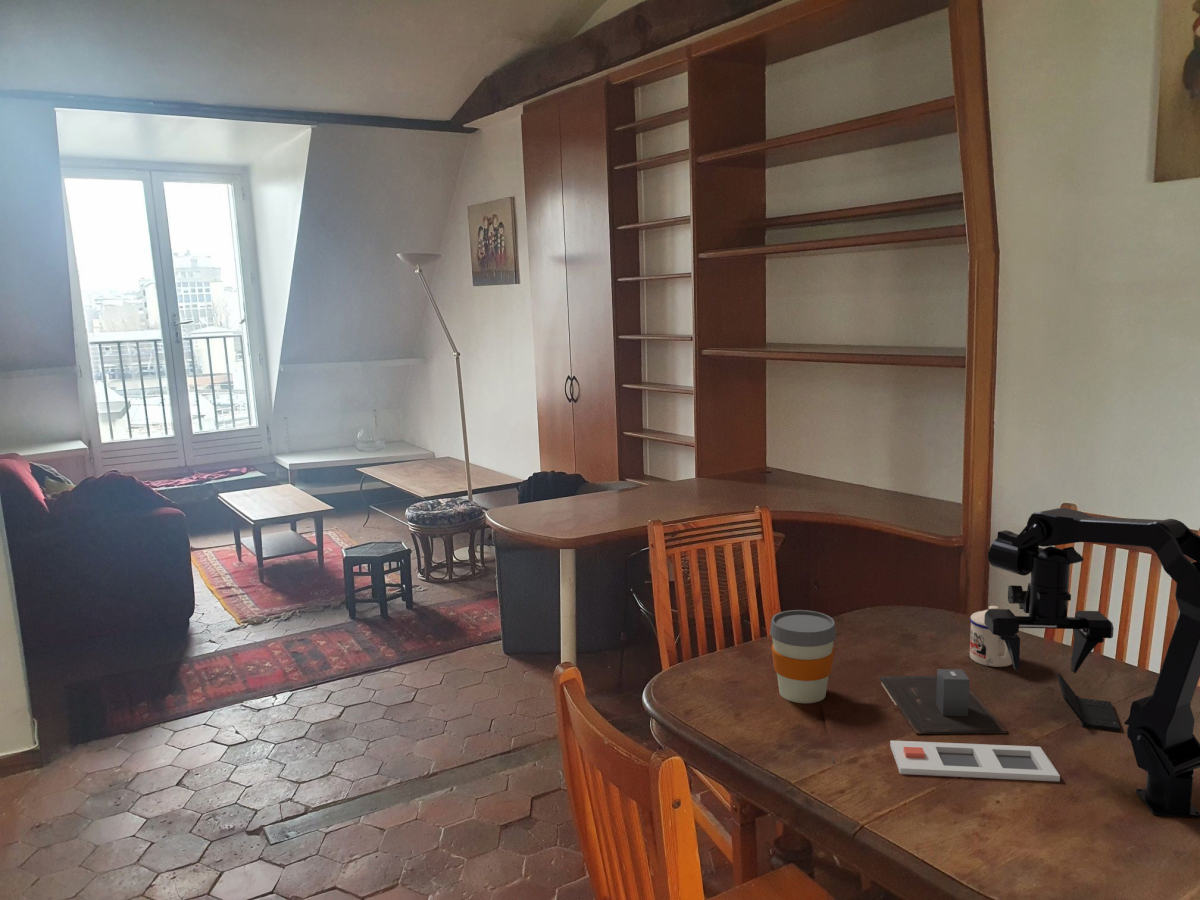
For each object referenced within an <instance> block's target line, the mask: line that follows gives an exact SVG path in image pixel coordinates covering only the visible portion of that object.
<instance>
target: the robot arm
mask: <svg viewBox="0 0 1200 900" xmlns="http://www.w3.org/2000/svg"><path fill="white" fill-rule="evenodd" d="M1074 543H1092V544H1093V543H1095V544H1104V545H1105V544H1106V545H1120V546H1121V545H1122V546H1134V547H1146V548H1150V549H1152V551H1153V552H1154V553H1155V554H1156V555H1157V558H1158V559H1159V562H1160V564H1161V567H1162V568H1163V570H1164V571H1165V573H1166V574H1167V575H1168V576H1169V577H1170V578H1171V579H1172V580H1173V581H1174V582H1175V583H1176V585H1175V595H1174V597H1175V600H1176V605H1177V607H1178V610H1179V611H1178V612H1179V614H1178V617H1177V620H1176V622H1175V623H1176V624H1175V626H1174V629H1173V633H1172V635H1171V639H1170V641H1169V644H1168V647H1167V651H1166V652H1165V653H1166V654H1165V657H1164V659H1163V662H1162V665H1161V668H1160V671H1159V674H1158V677H1157V681H1156V683H1155V686H1154V689H1153V692H1152V693H1151V695H1147V696H1145V697H1142V698H1138V699H1136V700H1133V701H1132V702H1131V705H1130V709H1129V715H1128V718H1127V719H1126V720H1125V721H1124V722H1123V723H1124V725H1126V726H1127V725H1128V726H1127V730H1126V736H1127V739H1129V741H1130V743H1131V747H1132V751H1133V754H1134V758H1135V762H1136V766H1137V767H1138V768H1139V769H1142V770H1143V771H1145V772H1146V784H1145V785H1146V786H1145V788H1135V793H1136V795H1137V796H1138V797H1139V799H1140V800H1141V801H1142V802H1143V803H1144V805H1145V806H1146V807H1147V808H1148V809H1149V811H1150V812H1151V813H1152V814H1153V815H1154V816H1161V817H1181V818H1198V819H1199V818H1200V810H1199V809H1198V808H1197V807H1196V806H1195V805H1194V804H1193V802H1192V798H1193V797H1192V795H1193V786H1194V785H1193V784H1194V775H1195V773H1194V770H1196V769H1199V768H1200V741H1199V740H1198V739H1197V737H1196V736H1195V735H1194V728H1195V727H1194V726H1195V718H1194V714H1193V710H1192V708H1191V702H1192V701H1193V698H1194V694H1195V692H1196V690H1197V689H1196V688H1197V686H1198V683H1199V680H1200V535H1198V534H1197V533H1194V531H1192V530H1191V529H1190V528H1189V527H1188V526H1187V525H1186V524H1185V523H1183V521H1180V520H1179V519H1174V518H1167V519H1166V518H1165V519H1150V518H1149V519H1147V518H1128V517H1107V516H1104V517H1103V516H1093V515H1089V514H1086V512H1083V511H1080V510H1076V509H1071V508H1066V507H1057V508H1053V509H1047V510H1044V511H1043V510H1042V511H1037V512H1033V513H1031V514H1030V516H1029V517H1028V520H1027V523H1026V526H1025V527H1024V528H1023V529H1022V530H1021V531H1020V533H1018V534H1017V533H1014V532H1013V531H1011V530H1001V531H998V532H997V537H996V538H995V539H994V540H993V542H992V543H991V545H990V547H989V549H988V551H987V560H988V562H989V564H990V565H991V566H992V567H994V568H997V569H1000V570H1003V571H1006V572H1010V573H1013V574H1016V575H1019V576H1022V577H1023V576H1028V575H1029V574H1030V582H1028V584H1027V589H1026V590H1023V586H1022V585H1008V590H1007V601H1008V603H1009V604H1011V605H1013V604H1014V605H1015V604H1017V605H1018V608H1019V609H1020V610H1023V612H1024V614H1028V616H1027V615H1025V616H1023V615H1015V614H1014V613H1013V612H1012V610H1011V609H1009V608H1007V609H1006V608H1005V609H1004V608H999V609H989V608H988V609H989V610H988V609H987V610H988V611H987V612H986V613H985V620H984V623H985V625H986V626H987V627H988V629H989V630H990V631H991V632H992V634H994V635H997V636H999V638H1000V639H1001V640H1004V641H1005V643H1006V646H1007V649H1008V652H1009V655H1010V658H1011V661H1012V664H1011V665H1012V667H1013V670H1014V671H1015V672H1019V668H1020V662H1021V660H1020V654H1021V653H1020V651H1021V638H1020V636H1019V635H1018V633H1019V632H1020V629H1052V630H1053V629H1055V630H1056V629H1057V630H1059V629H1062V630H1063V629H1064V630H1072V632H1073V646H1072V653H1071V660H1070V661H1071V662H1070V664H1071V665H1070V669H1071V672H1072V673H1074V674H1076V673H1077V672H1078V670H1079V669H1080V667H1081V666H1082V664H1083V663H1084V661H1085V660H1086V658H1087V657H1088V655H1089V654H1090V653H1091V652H1092V651H1093V649H1095V647H1096V646H1097V645H1098V644H1100V643H1102V644H1103V643H1104V642H1105V639H1112V638H1114V625H1113V622H1112V621H1111V620H1110V619H1109V618H1107V616H1105V615H1104V614H1102V613H1101V612H1100V611H1099V610H1095V611H1094V610H1077V611H1076V612H1075V614H1074V617H1070V616H1068V605H1069V601H1072V594H1071V593H1070V592H1069V591H1070V590H1069V587H1070V574H1071V572H1070V571H1071V570H1070V569H1071V565H1073V564H1078V563H1082V562H1084V557H1083V556H1082V555H1081V554H1080V553H1079V552H1078V551H1076V549H1075V547H1074V546H1069V547H1064V548H1059V547H1055V546H1061V545H1069V544H1074ZM1044 547H1045V548H1044ZM1189 558H1190V559H1192V560H1193V562H1192V561H1191V560H1190V559H1189Z"/></svg>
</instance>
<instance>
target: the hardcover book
mask: <svg viewBox="0 0 1200 900" xmlns="http://www.w3.org/2000/svg"><path fill="white" fill-rule="evenodd" d="M878 678H879V680H880V682H881V686H882V687H883V689H884V690H885V692H886V693H887V694H888V695H887V696H888V697H889V698H890V700H891V701H892V702H894V703H893V704H894V705H895V706H897V707H898V709H899V710H900V712H901V714H902V715H903V716H904V718H905V720H906V721H907V722H908V724H909V725H910V727H911V728H912V730H913V731H914V733H915V734H916V735H943V734H944V735H947V734H948V735H949V734H952V735H953V734H957V735H958V734H959V735H960V734H1009V731H1008V730H1007V729H1006V728H1005V727H1004V726H1003V724H1002V723H1001V722H1000V721H999V720H998V719H997V717H996V716H995V715H994V714H993V713H992V712H991V711H990V710H989V709H988V707H987V706H986V705H985V704H984V703H983V702H982V701H981V700H980V698H979V697H978V696H977V695H976V693H974V691H973V690H972V689H971V688H970V687H969V707H968V716H943V715H942V713H941V712H940V710H939V708H938V707H937V705H936V694H937V674H936V675H933V674H931V675H930V674H929V675H891V676H890V675H889V676H887V675H886V676H883V675H882V676H878Z"/></svg>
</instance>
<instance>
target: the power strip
mask: <svg viewBox="0 0 1200 900" xmlns="http://www.w3.org/2000/svg"><path fill="white" fill-rule="evenodd" d="M889 746H890V749H891V752H892V754H893V757H894V761H895V763H896V766H897V769H898V772H899V774H900V775H911V776H912V775H915V776H916V775H917V776H936V777H956V778H959V777H961V778H975V779H976V778H977V779H979V778H981V779H998V780H1016V781H1017V780H1018V781H1019V780H1021V781H1040V782H1058V783H1059V782H1060V781H1061V775H1060V773H1059V772H1058V770H1057V769H1056V767H1055V766H1054V765H1053V763H1052V761H1051V760H1050V758H1049V757H1048V756H1047V755H1046V753H1045V751H1044V750H1043V749H1042V748H1041V746H1030V745H1011V744H1009V745H1006V744H983V743H981V744H980V743H962V742H961V743H960V742H959V743H958V742H957V743H956V742H941V741H939V742H935V741H911V740H908V741H907V740H890V743H889ZM833 762H834V763H835V759H834V758H832V763H833Z"/></svg>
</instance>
